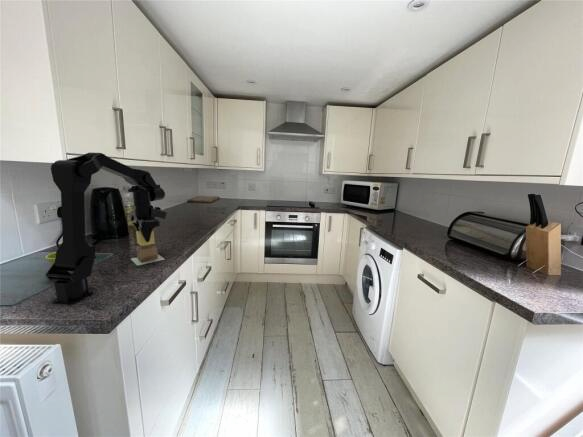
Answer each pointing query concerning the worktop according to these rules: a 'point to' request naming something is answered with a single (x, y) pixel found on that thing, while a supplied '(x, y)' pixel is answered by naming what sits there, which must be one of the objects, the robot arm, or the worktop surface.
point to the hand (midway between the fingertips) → (145, 240)
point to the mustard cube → (142, 241)
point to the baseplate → (147, 261)
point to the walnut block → (147, 253)
